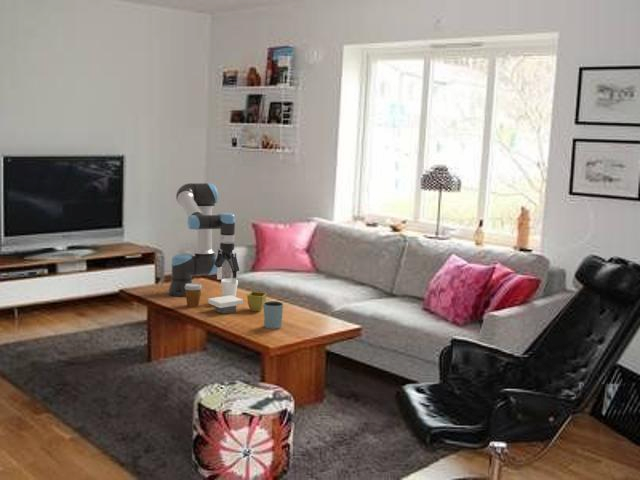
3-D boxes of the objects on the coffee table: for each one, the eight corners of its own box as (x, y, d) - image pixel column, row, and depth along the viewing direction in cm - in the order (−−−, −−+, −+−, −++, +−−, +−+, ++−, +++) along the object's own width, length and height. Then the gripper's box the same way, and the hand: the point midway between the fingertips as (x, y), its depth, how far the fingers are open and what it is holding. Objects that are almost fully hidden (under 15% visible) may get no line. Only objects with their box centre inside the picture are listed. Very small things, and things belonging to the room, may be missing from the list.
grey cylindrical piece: (279, 330, 361) (280, 306, 359) (260, 328, 363) (260, 304, 361) (284, 324, 371) (285, 301, 369) (265, 323, 373) (266, 300, 371)
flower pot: (261, 312, 392) (262, 296, 391) (246, 311, 394) (246, 295, 393) (266, 308, 401) (266, 292, 399) (251, 307, 402) (251, 291, 401)
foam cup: (226, 305, 404) (227, 282, 402) (217, 302, 411) (217, 279, 409) (240, 303, 410) (241, 280, 408) (231, 299, 417) (231, 277, 415)
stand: (215, 310, 393) (215, 303, 392) (227, 308, 398) (227, 301, 397) (223, 313, 387) (223, 306, 386) (235, 311, 392) (236, 304, 392)
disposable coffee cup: (182, 304, 402) (182, 283, 400) (199, 303, 406) (199, 282, 404) (186, 308, 394) (186, 287, 392) (203, 307, 397) (204, 286, 395)
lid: (207, 303, 392) (207, 298, 391) (231, 299, 401) (231, 295, 401) (220, 308, 383) (220, 303, 382) (243, 304, 392) (243, 299, 392)
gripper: (208, 239, 393) (207, 278, 397) (234, 246, 375) (233, 286, 378) (220, 238, 398) (219, 276, 401) (246, 245, 380) (245, 285, 383)
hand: (226, 281), depth 390 cm, fingers open, 13 cm apart
